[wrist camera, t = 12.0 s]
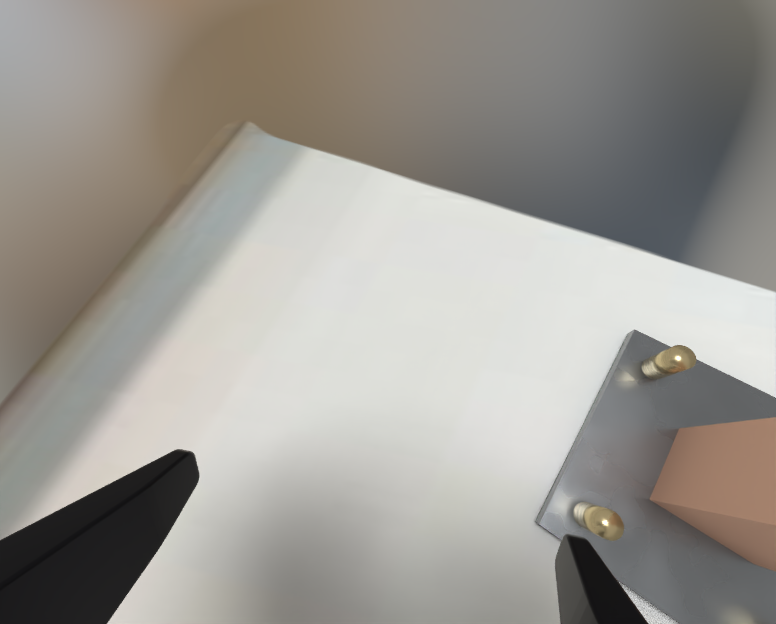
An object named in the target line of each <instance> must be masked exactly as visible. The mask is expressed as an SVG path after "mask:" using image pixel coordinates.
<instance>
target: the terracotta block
mask: <svg viewBox="0 0 776 624" xmlns="http://www.w3.org/2000/svg"><path fill="white" fill-rule="evenodd" d="M650 500H651V501H653V502H654V503H656V504H658V505H659V506H661V507H662V508H664V509H666V510H667V511H669V512H670V513H672V514H674V515H675V516H677V517H679V518H680V519H682V520H683V521H685V522H687V523H688V524H690V525H691V526H693V527H695V528H696V529H698V530H700V531H701V532H703V533H704V534H706V535H708V536H709V537H711V538H712V539H714V540H716V541H717V542H719V543H721V544H722V545H724V546H725V547H727V548H729V549H730V550H732V551H733V552H735V553H737V554H738V555H740V556H741V557H743V558H745V559H746V560H748V561H750V562H751V563H753V564H755V565H758V566H761V567H764V568H767V569H770V570H773V571H775V572H776V417H773V418H765V419H756V420H747V421H739V422H730V423H721V424H713V425H704V426H695V427H687V428H679V430H678V433H677V435H676V437H675V440H674V442H673V444H672V447H671V449H670V452H669V454H668V456H667V459H666V461H665V464H664V466H663V468H662V471H661V473H660V475H659V478H658V480H657V483H656V485H655V487H654V490H653V492H652V495H651V497H650Z"/></svg>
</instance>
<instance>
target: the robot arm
mask: <svg viewBox="0 0 776 624" xmlns="http://www.w3.org/2000/svg"><path fill="white" fill-rule="evenodd" d="M198 480H199V470H198V466H197V462H196V458H195V455H194V453H193V452H191V451H187V450H182V449H177V450H175V451H172V452H170V453H168V454H167V455H165V456H163V457H161V458H159V459H157V460H155V461H153V462H151V463H149V464H147V465H145V466H143V467H141V468H139V469H137V470H136V471H134V472H132V473H130V474H128V475H126V476H124V477H122V478H120V479H118V480H116V481H114V482H112V483H110V484H108V485H106V486H105V487H103V488H101V489H99V490H97V491H95V492H93V493H91V494H89V495H87V496H85V497H83V498H81V499H79V500H77V501H75V502H73V503H72V504H70V505H68V506H66V507H64V508H62V509H60V510H58V511H56V512H54V513H52V514H50V515H48V516H46V517H44V518H42V519H41V520H39V521H37V522H35V523H33V524H31V525H29V526H27V527H25V528H23V529H21V530H19V531H17V532H15V533H13V534H11V535H9V536H8V537H6V538H4V539H2V540H0V624H107V623H108V621H109V620H110V618H111V617H112V616H113V614H114V613H115V611H116V610H117V608H118V607H119V606H120V604H121V603H122V601H123V600H124V598H125V597H126V595H127V594H128V593H129V591H130V590H131V588H132V587H133V585H134V584H135V583H136V581H137V580H138V578H139V577H140V575H141V574H142V573H143V571H144V570H145V568H146V567H147V565H148V564H149V562H150V561H151V560H152V558H153V557H154V555H155V554H156V552H157V551H158V549H159V548H160V546H161V545H162V543H163V542H164V540H165V538H166V537H167V535H168V533H169V532H170V530H171V528H172V527H173V525H174V523H175V521H176V520H177V518H178V516H179V515H180V513H181V511H182V509H183V508H184V506H185V504H186V502H187V501H188V499H189V497H190V496H191V494H192V492H193V490H194V489H195V487H196V485H197V483H198ZM555 571H556V581H557V592H558V602H559V612H560V622H561V624H648V623H647V621H646V620H645V618H644V617H643V616H642V614H641V613H640V612H639V610H638V609H637V607H636V606H635V605H634V603H633V602H632V600H631V599H630V598H629V596H628V595H627V593H626V592H625V591H624V589H623V588H622V586H621V585H620V584H619V582H618V581H617V580H616V578H615V577H614V575H613V574H612V573H611V571H610V570H609V568H608V567H607V566H606V564H605V563H604V561H603V560H602V559H601V557H600V556H599V554H598V553H597V552H596V550H595V549H594V548H593V546H592V545H591V543H590V542H589V541H588V540H587V539H586V538H584V537H582V536H577V535H572V534H565V535H564V536H563V539H562V541H561V544H560V547H559V550H558V553H557V555H556V560H555Z"/></svg>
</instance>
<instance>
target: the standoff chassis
mask: <svg viewBox="0 0 776 624" xmlns="http://www.w3.org/2000/svg"><path fill="white" fill-rule="evenodd" d="M773 417H776V398H775V397H773V396H771V395H769V394H767V393H765V392H763V391H761V390H758V389H756V388H754V387H752V386H750V385H748V384H746V383H744V382H742V381H740V380H738V379H736V378H734V377H732V376H730V375H728V374H725V373H723V372H721V371H719V370H717V369H715V368H713V367H711V366H709V365H707V364H705V363H703V362H701V361H699V360H697V359H696V356H695V354H694V352H693V351H692V350H691V349H689V348H688V347H686V346H682V345H676V346H673V347H670V346H668V345H666V344H663V343H661V342H659V341H657V340H655V339H653V338H651V337H649V336H647V335H645V334H643V333H641V332H639V331H637V330H633V331H632V332H630V333H628V334H627V337H626V339H625V341H624V343H623V345H622V347H621V349H620V351H619V353H618V355H617V357H616V359H615V361H614V363H613V365H612V367H611V369H610V371H609V373H608V375H607V377H606V379H605V381H604V383H603V385H602V387H601V389H600V391H599V393H598V395H597V397H596V399H595V401H594V403H593V405H592V407H591V410H590V412H589V414H588V416H587V418H586V420H585V422H584V424H583V426H582V428H581V430H580V432H579V434H578V436H577V438H576V440H575V442H574V444H573V446H572V448H571V450H570V452H569V454H568V456H567V458H566V460H565V462H564V464H563V466H562V468H561V470H560V472H559V474H558V476H557V478H556V480H555V482H554V485H553V487H552V489H551V491H550V493H549V495H548V497H547V499H546V501H545V503H544V505H543V507H542V509H541V511H540V513H539V515H538V517H537V519H536V521H535V522H536V523H538V524H539V525H540V526H542V527H543V528H545V529H546V530H548V531H549V532H550V533H552V534H553V535H555V536H556V537H557V538H559V539H560V540H562V539H563V536H564V535H565V534H572V535H577V536H582V537H584V538H586V539H587V540H588V541H589V542H590V543H591V545H592V546H593V548H594V549H595V550H596V552H597V553H598V554H599V556H600V557H601V559H602V560H603V561H604V563H605V564H606V566H607V567H608V568H609V570H610V571H611V573H612V574H613V575H614V577H615V578H616V579H617V580H619V581H620V582H621V583H623V584H624V585H626V586H627V587H629V588H630V589H631V590H633V591H634V592H636V593H637V594H639V595H640V596H641V597H643V598H644V599H646V600H647V601H648V602H650V603H651V604H653V605H654V606H656V607H657V608H658V609H660V610H661V611H663V612H664V613H666V614H667V615H668V616H670V617H671V618H673V619H674V620H675V621H677V622H678V623H680V624H776V572H775V571H773V570H770V569H767V568H764V567H761V566H758V565H755V564H753V563H751V562H750V561H748V560H746V559H745V558H743V557H741V556H740V555H738V554H737V553H735V552H733V551H732V550H730V549H729V548H727V547H725V546H724V545H722V544H721V543H719V542H717V541H716V540H714V539H712V538H711V537H709V536H708V535H706V534H704V533H703V532H701V531H700V530H698V529H696V528H695V527H693V526H691V525H690V524H688V523H687V522H685V521H683V520H682V519H680V518H679V517H677V516H675V515H674V514H672V513H670V512H669V511H667V510H666V509H664V508H662V507H661V506H659V505H658V504H656V503H654V502H653V501H651V500H650V497H651V495H652V492H653V490H654V487H655V485H656V483H657V480H658V478H659V475H660V473H661V471H662V468H663V466H664V464H665V461H666V459H667V456H668V454H669V452H670V449H671V447H672V444H673V442H674V440H675V437H676V435H677V433H678V430H679V428H687V427H695V426H704V425H713V424H721V423H730V422H739V421H747V420H756V419H765V418H773Z"/></svg>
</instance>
